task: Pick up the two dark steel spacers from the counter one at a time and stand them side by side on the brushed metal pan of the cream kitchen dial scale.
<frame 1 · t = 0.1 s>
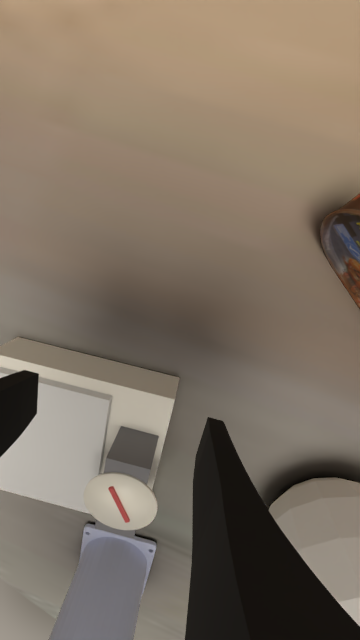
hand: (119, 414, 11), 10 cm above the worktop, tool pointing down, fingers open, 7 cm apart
kitchen scale: (89, 423, 24), on the worktop
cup: (322, 508, 24), on the worktop
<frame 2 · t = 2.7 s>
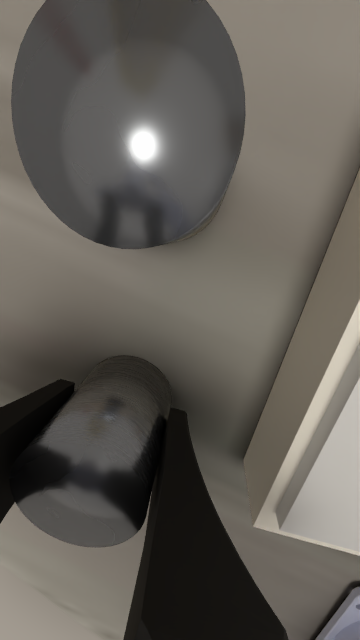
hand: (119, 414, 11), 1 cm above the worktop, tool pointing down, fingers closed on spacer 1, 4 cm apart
spacer 2: (168, 182, 9), on the worktop
spacer 1: (129, 394, 12), on the worktop, touching gripper
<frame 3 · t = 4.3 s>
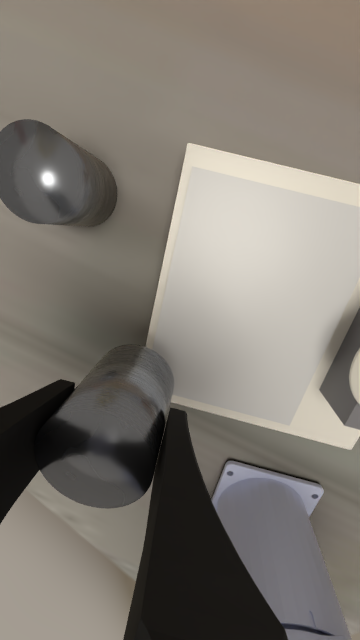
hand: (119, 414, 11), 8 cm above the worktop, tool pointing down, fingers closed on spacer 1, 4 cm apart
spacer 2: (85, 191, 16), on the worktop
spacer 1: (135, 380, 13), point 6 cm above the worktop, touching gripper
kitchen scale: (269, 305, 17), on the worktop
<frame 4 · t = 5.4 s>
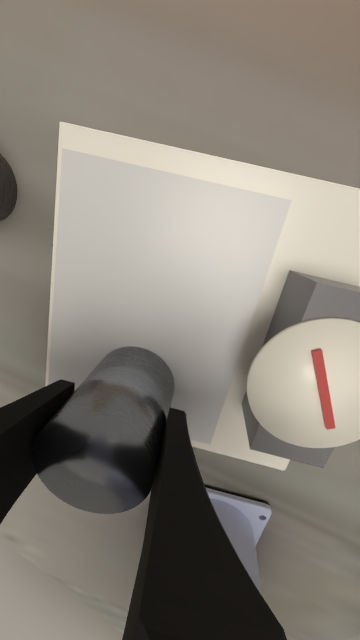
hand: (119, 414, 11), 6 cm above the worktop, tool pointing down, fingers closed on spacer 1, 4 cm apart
spacer 1: (134, 383, 13), point 4 cm above the worktop, touching gripper, kitchen scale
kitchen scale: (194, 308, 15), on the worktop
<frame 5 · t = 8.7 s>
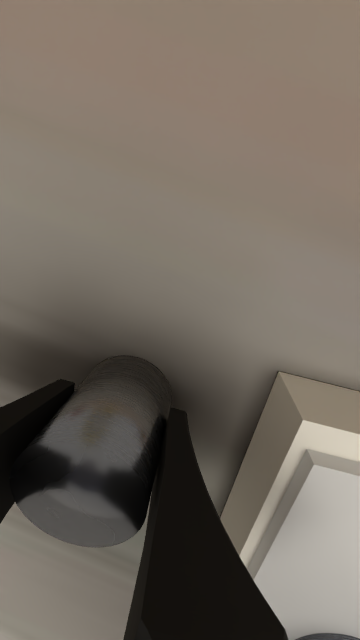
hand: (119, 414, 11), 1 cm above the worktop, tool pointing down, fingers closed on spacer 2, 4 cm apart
spacer 2: (129, 394, 12), on the worktop, touching gripper
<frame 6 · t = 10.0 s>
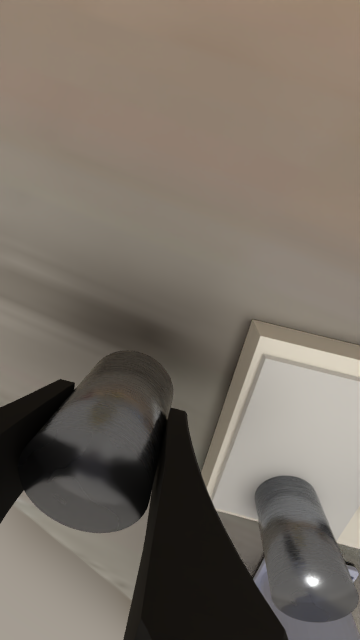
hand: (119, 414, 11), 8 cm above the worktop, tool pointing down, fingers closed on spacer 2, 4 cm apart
spacer 2: (131, 389, 12), point 7 cm above the worktop, touching gripper
spacer 1: (285, 498, 17), point 4 cm above the worktop, touching kitchen scale
kitchen scale: (314, 427, 19), on the worktop
when the fingers open (6 cm above the worktop, at t = 11.5 s): spacer 2 stays where it is, resting on kitchen scale.
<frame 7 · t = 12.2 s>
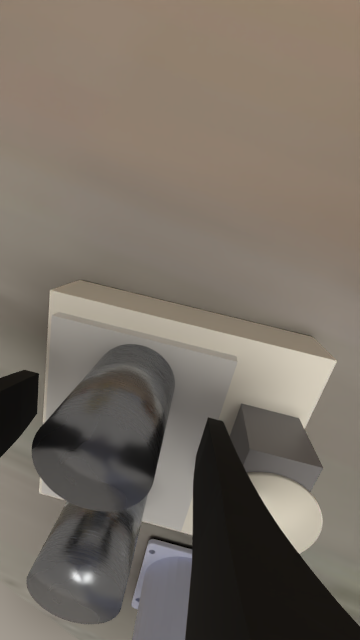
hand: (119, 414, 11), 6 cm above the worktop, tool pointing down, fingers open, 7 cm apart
spacer 2: (135, 381, 13), point 4 cm above the worktop, touching kitchen scale
spacer 1: (115, 482, 15), point 4 cm above the worktop, touching kitchen scale
kitchen scale: (170, 405, 17), on the worktop
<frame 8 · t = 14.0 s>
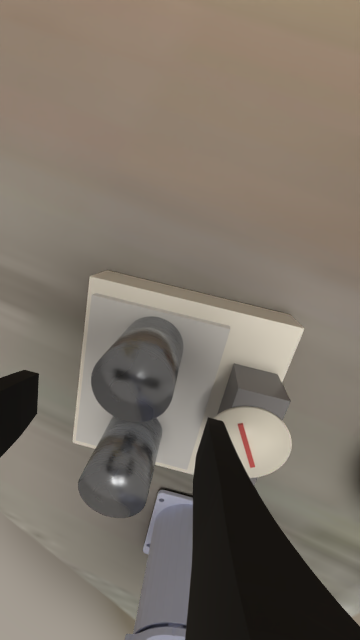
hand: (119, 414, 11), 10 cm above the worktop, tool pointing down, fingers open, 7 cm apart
spacer 2: (153, 345, 17), point 4 cm above the worktop, touching kitchen scale
spacer 1: (135, 429, 19), point 4 cm above the worktop, touching kitchen scale
kitchen scale: (177, 372, 22), on the worktop
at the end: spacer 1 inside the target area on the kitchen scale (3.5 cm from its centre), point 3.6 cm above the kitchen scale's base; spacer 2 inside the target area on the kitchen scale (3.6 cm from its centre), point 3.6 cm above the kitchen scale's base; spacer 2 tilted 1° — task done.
